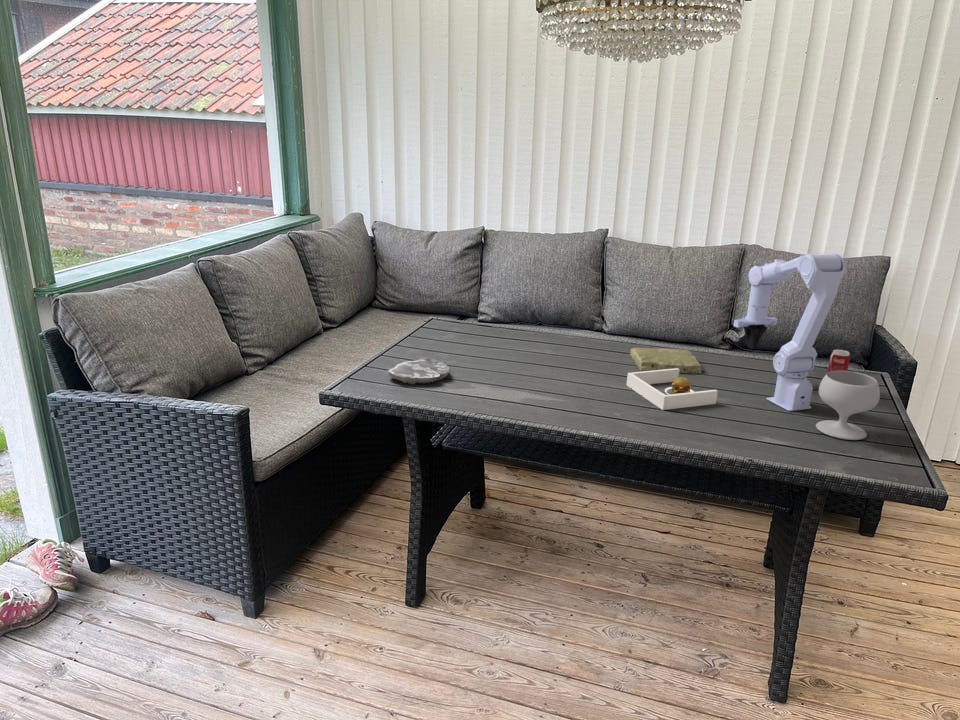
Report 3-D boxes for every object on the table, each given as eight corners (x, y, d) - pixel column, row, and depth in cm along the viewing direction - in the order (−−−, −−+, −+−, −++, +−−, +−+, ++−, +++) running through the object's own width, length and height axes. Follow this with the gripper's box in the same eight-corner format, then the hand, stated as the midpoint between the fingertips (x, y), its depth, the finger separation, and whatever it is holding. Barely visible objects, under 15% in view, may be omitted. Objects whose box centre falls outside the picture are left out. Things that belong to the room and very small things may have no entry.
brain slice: (422, 392, 202) (422, 383, 201) (380, 379, 211) (380, 370, 210) (463, 375, 217) (464, 366, 216) (423, 363, 226) (423, 355, 225)
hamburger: (654, 397, 204) (656, 380, 202) (665, 385, 213) (667, 368, 212) (695, 406, 198) (697, 388, 196) (705, 393, 208) (707, 376, 206)
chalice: (824, 416, 191) (834, 365, 187) (878, 432, 182) (890, 379, 177) (802, 430, 182) (812, 376, 177) (859, 448, 173) (871, 391, 168)
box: (715, 403, 198) (717, 390, 197) (662, 410, 193) (664, 396, 192) (676, 380, 216) (677, 368, 215) (626, 385, 211) (627, 372, 210)
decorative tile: (629, 355, 240) (630, 345, 239) (687, 357, 240) (688, 347, 239) (639, 373, 223) (640, 363, 222) (702, 375, 222) (703, 365, 221)
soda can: (826, 384, 216) (833, 347, 212) (844, 388, 213) (852, 351, 209) (822, 389, 212) (830, 352, 208) (841, 393, 209) (849, 355, 205)
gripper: (768, 301, 217) (762, 342, 221) (729, 303, 212) (723, 345, 217) (784, 306, 210) (777, 349, 215) (745, 309, 206) (738, 352, 210)
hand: (751, 347), depth 215 cm, fingers closed
